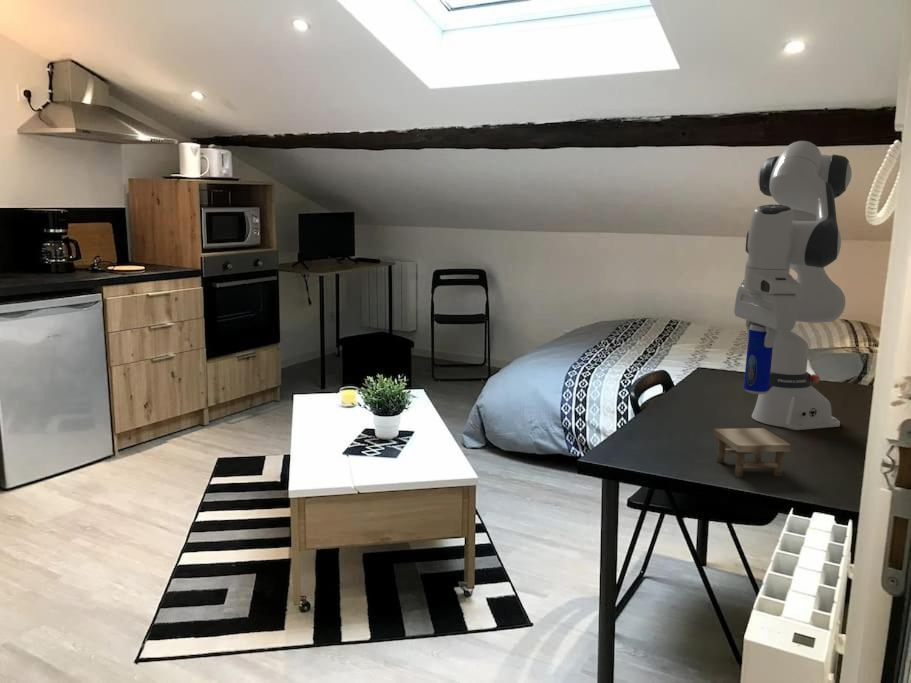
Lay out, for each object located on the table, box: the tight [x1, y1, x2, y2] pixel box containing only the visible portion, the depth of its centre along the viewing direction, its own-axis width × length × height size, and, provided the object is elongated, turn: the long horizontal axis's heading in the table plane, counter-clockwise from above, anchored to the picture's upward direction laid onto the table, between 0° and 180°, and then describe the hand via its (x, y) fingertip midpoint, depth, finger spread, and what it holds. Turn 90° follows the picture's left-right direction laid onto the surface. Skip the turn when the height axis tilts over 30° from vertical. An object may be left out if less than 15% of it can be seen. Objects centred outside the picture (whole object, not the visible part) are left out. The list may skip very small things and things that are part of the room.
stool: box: [713, 427, 792, 478], centre depth 167 cm, size 12×12×8 cm
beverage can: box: [743, 324, 773, 395], centre depth 163 cm, size 5×5×15 cm
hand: (760, 344), depth 162 cm, fingers closed on beverage can, 5 cm apart
